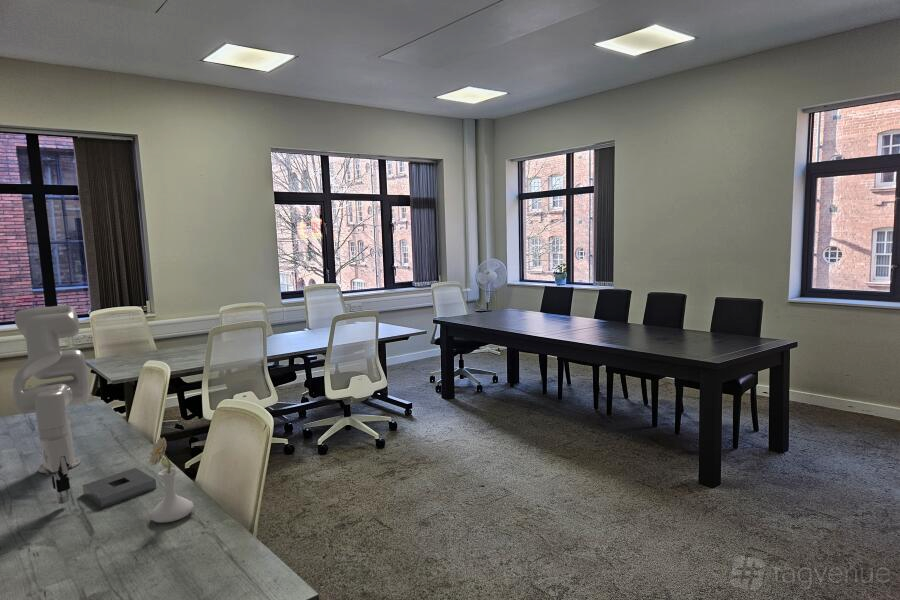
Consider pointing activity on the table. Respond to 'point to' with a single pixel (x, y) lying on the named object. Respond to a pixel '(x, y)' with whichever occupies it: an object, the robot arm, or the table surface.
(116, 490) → the block
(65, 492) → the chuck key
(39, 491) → the table surface
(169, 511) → the flower in vase
